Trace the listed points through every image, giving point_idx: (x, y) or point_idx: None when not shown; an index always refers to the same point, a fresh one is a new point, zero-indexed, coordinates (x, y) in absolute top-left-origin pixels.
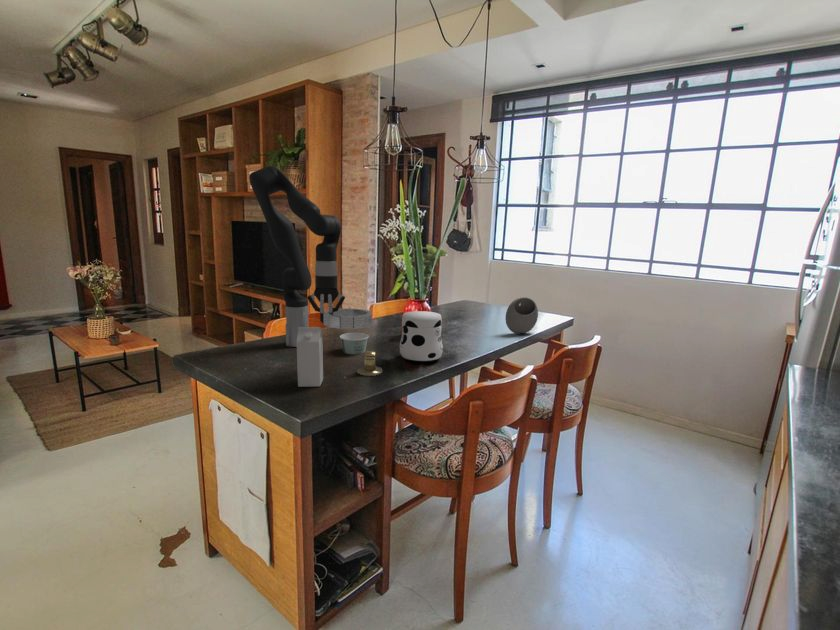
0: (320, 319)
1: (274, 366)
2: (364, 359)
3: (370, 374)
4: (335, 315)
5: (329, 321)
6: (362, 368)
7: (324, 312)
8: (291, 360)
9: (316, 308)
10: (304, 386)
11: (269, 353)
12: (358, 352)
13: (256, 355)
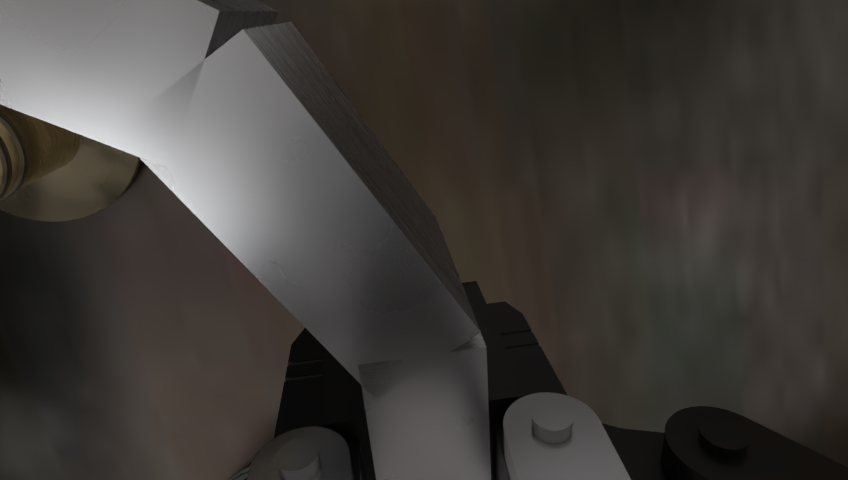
0: (522, 325)
1: (719, 198)
2: (22, 132)
3: None
4: (7, 91)
5: (253, 9)
6: (106, 161)
7: (478, 458)
8: (630, 313)
9: (743, 469)
10: None
11: (757, 409)
12: (240, 476)
13: (822, 370)
